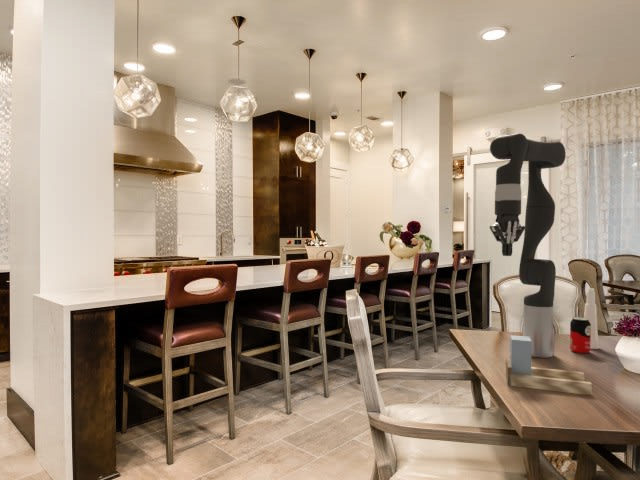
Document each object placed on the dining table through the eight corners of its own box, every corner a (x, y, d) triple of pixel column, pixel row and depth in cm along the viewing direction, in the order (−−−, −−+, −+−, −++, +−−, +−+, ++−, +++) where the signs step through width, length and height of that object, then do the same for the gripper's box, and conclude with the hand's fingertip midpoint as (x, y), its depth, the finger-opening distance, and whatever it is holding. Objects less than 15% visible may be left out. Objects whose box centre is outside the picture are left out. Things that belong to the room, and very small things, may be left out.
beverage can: (573, 353, 156) (573, 319, 156) (567, 348, 162) (568, 316, 162) (592, 354, 154) (593, 320, 154) (586, 350, 160) (587, 317, 160)
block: (528, 374, 126) (529, 336, 126) (531, 381, 121) (531, 341, 121) (509, 372, 128) (510, 335, 128) (511, 379, 122) (511, 339, 122)
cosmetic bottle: (594, 349, 161) (595, 289, 161) (577, 346, 166) (578, 288, 166) (602, 347, 164) (603, 289, 164) (585, 344, 169) (586, 287, 169)
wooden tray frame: (583, 382, 123) (583, 365, 123) (591, 395, 114) (591, 376, 114) (505, 374, 130) (506, 357, 130) (507, 385, 121) (507, 367, 121)
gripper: (513, 201, 142) (512, 255, 142) (482, 199, 136) (481, 255, 137) (533, 199, 135) (532, 256, 135) (501, 197, 130) (500, 256, 130)
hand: (507, 255), depth 136 cm, fingers closed
